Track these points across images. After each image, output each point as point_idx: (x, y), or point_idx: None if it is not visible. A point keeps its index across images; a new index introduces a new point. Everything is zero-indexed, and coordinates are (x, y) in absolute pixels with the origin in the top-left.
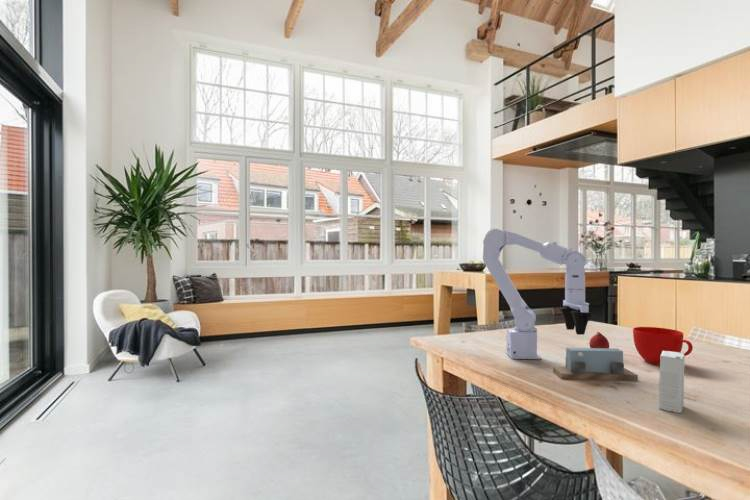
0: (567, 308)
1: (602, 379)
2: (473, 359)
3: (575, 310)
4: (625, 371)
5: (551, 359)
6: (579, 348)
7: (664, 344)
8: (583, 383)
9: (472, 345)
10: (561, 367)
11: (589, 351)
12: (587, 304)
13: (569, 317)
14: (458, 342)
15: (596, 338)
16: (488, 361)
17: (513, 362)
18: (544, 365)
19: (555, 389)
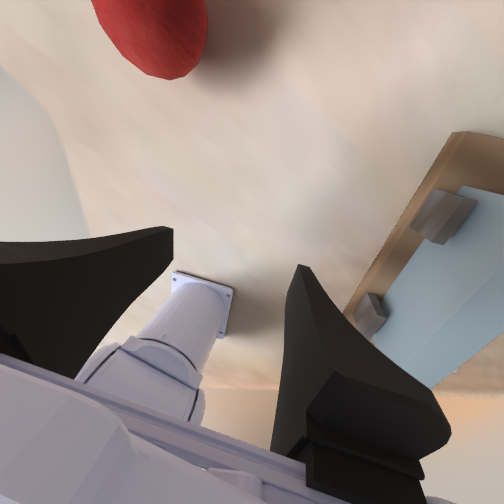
0: (44, 368)
1: None
2: (221, 382)
3: (39, 292)
4: (501, 168)
5: (231, 263)
6: (424, 356)
7: None
8: None
9: (119, 339)
10: (351, 323)
11: (474, 348)
12: (103, 481)
13: (117, 290)
14: (101, 347)
15: (152, 33)
16: (235, 372)
17: (247, 345)
18: (281, 309)
19: (440, 384)
